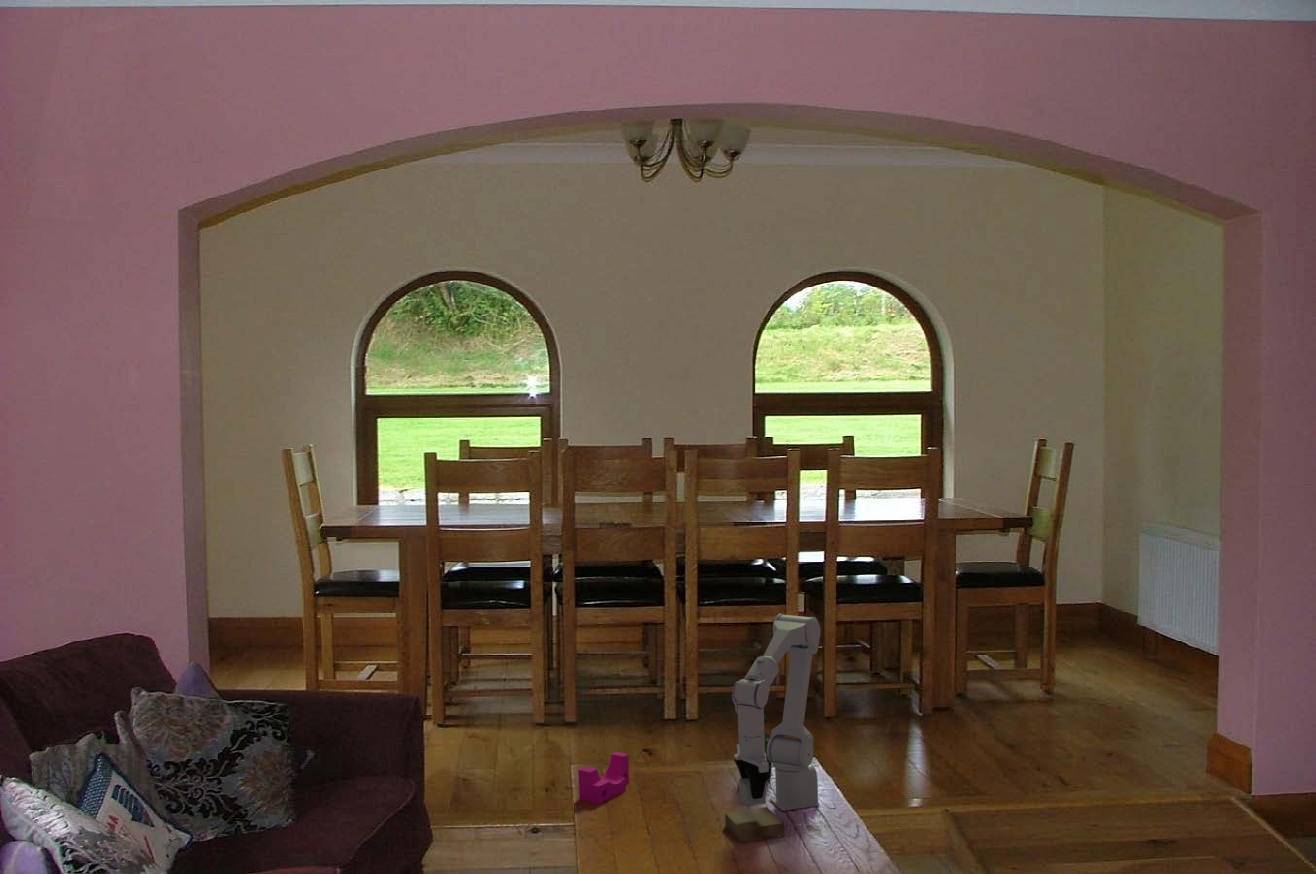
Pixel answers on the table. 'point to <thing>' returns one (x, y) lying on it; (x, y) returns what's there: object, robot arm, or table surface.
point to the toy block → (604, 780)
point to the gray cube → (749, 793)
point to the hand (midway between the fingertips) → (753, 794)
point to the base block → (754, 824)
